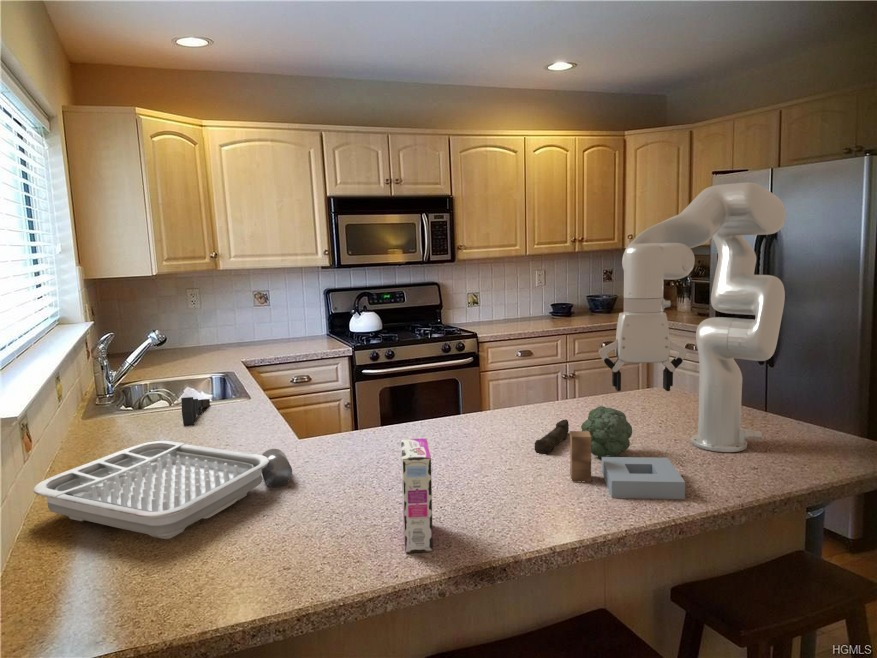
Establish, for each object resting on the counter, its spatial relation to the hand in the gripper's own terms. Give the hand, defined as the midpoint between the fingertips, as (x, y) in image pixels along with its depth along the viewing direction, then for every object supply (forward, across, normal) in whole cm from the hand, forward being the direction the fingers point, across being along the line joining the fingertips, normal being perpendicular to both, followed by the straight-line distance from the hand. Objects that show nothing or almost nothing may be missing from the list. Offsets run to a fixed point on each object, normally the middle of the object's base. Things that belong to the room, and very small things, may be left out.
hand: (642, 389), depth 125 cm
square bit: (+20, +12, -3) cm, 24 cm away
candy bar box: (+20, +43, +26) cm, 54 cm away
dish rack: (+21, +98, +16) cm, 101 cm away
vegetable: (+21, +5, -20) cm, 29 cm away
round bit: (+17, +81, -2) cm, 83 cm away
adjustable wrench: (+21, +126, -52) cm, 138 cm away
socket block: (+20, 0, 0) cm, 20 cm away
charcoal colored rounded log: (+21, +16, -27) cm, 38 cm away
